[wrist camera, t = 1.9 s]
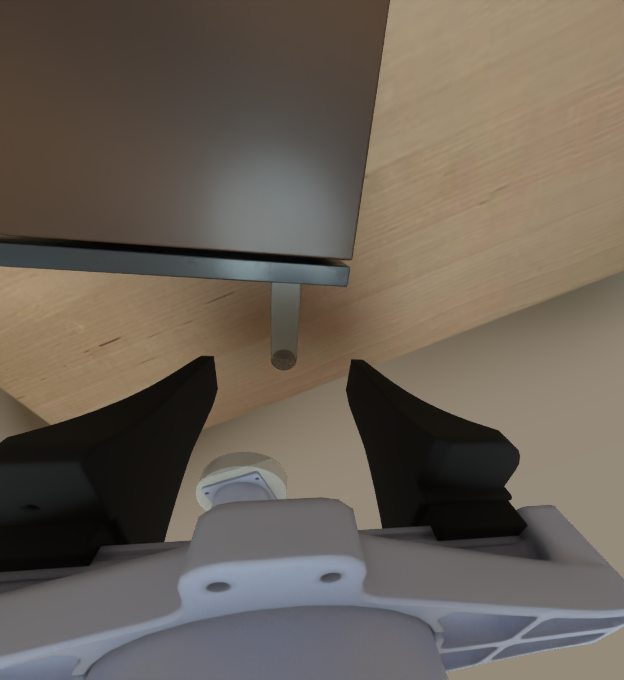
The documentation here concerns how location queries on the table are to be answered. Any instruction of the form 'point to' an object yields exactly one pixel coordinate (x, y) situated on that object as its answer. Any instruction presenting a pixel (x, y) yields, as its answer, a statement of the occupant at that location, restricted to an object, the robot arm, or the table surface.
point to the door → (190, 273)
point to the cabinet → (189, 121)
